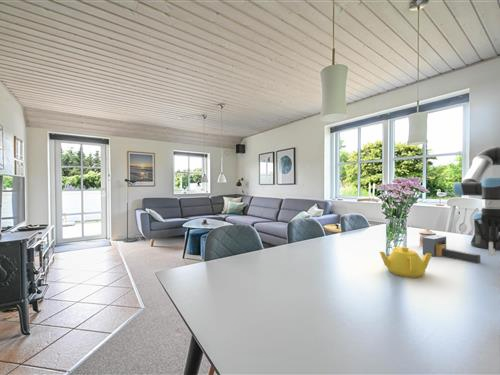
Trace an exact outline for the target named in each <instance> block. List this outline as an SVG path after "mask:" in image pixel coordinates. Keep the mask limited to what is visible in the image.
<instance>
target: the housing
mask: <svg viewBox="0 0 500 375" xmlns="http://www.w3.org/2000/svg"><path fill="white" fill-rule="evenodd" d="M436 243H440V244H445V245H446V246H447V236H444V235H439V234H436V235H431V236H427V237H423V246H422V255H425V254H426V253H431V254H432V255H431V257H437V255H436Z"/></svg>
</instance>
